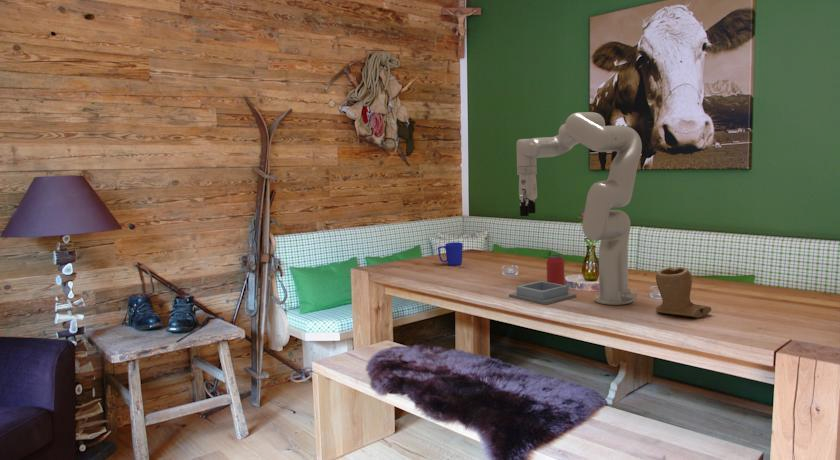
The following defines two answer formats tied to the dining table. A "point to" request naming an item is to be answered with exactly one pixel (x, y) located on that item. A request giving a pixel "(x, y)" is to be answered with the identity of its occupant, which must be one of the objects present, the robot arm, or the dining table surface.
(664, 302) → the brown l-shaped piece
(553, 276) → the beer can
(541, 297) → the box
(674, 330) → the dining table surface
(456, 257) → the mug
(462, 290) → the dining table surface
